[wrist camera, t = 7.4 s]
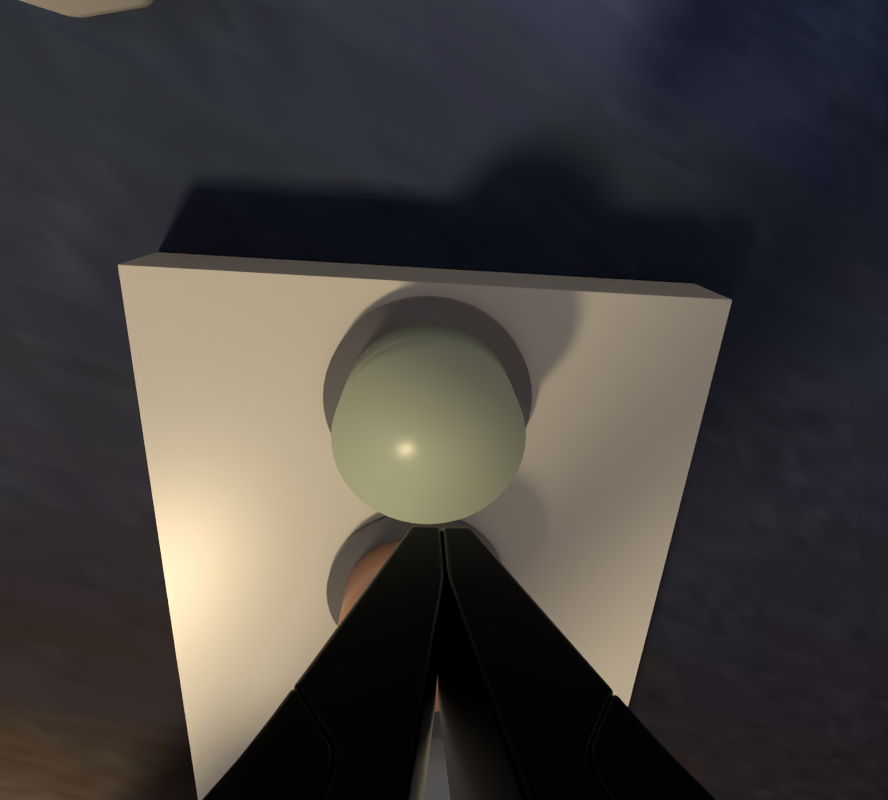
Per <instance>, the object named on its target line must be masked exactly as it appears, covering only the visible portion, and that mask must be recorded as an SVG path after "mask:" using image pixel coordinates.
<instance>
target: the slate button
mask: <svg viewBox="0 0 888 800" xmlns="http://www.w3.org/2000/svg"><path fill="white" fill-rule="evenodd" d="M424 800H450V792H449V784H448V776H447V767H446V759H445V751H444V743H443V741H442V740H439V739H436V738H432V737H431V744H430V752H429V761H428V769H427V777H426V785H425V793H424Z"/></svg>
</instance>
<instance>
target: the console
mask: <svg viewBox="0 0 888 800" xmlns="http://www.w3.org/2000/svg"><path fill="white" fill-rule="evenodd" d="M118 269H119V275H120V282H121V289H122V295H123V302H124V309H125V315H126V322H127V329H128V335H129V342H130V349H131V355H132V362H133V369H134V375H135V382H136V389H137V396H138V402H139V409H140V416H141V422H142V429H143V436H144V442H145V449H146V456H147V462H148V469H149V476H150V482H151V489H152V496H153V502H154V509H155V516H156V523H157V529H158V536H159V543H160V549H161V556H162V563H163V569H164V576H165V583H166V589H167V596H168V603H169V609H170V616H171V623H172V630H173V636H174V643H175V650H176V656H177V663H178V670H179V676H180V683H181V690H182V696H183V703H184V710H185V716H186V723H187V730H188V736H189V743H190V750H191V757H192V763H193V770H194V777H195V783H196V790H197V797H198V800H202V799H203V798H204V797H205V796H206V795H207V794H208V792H209V791H210V790H211V789H212V788H213V787H214V786H215V784H216V783H217V782H218V781H219V780H220V779H221V778H222V776H223V775H224V774H225V773H226V772H227V771H228V770H229V769H230V767H231V766H232V765H233V764H234V763H235V762H236V761H237V759H238V758H239V757H240V756H241V755H242V753H243V752H244V751H245V749H246V748H247V747H248V746H249V744H250V743H251V742H252V741H253V739H254V738H255V737H256V735H257V734H258V733H259V732H260V730H261V729H262V728H263V727H264V725H265V724H266V723H267V721H268V720H269V719H270V718H271V716H272V715H273V714H274V712H275V711H276V709H277V708H278V707H279V705H280V704H281V703H282V701H283V700H284V698H285V697H286V696H287V694H288V693H289V692H290V691H291V690H293V689H294V686H295V684H296V683H297V681H298V680H299V679H300V677H301V676H302V674H303V673H304V672H305V670H306V669H307V668H308V666H309V665H310V664H311V662H312V661H313V659H314V658H315V657H316V655H317V654H318V653H319V651H320V650H321V649H322V647H323V646H324V644H325V643H326V642H327V640H328V639H329V638H330V636H331V635H332V634H333V632H334V631H335V629H336V628H337V627H338V623H339V617H340V612H341V606H342V601H343V595H344V590H345V586H346V582H347V579H348V577H349V574H350V572H351V571H352V569H353V568H354V566H355V565H356V564H357V563H358V562H359V560H360V559H362V558H363V557H364V556H365V555H366V554H367V553H369V552H370V551H372V550H373V549H375V548H377V547H379V546H381V545H383V544H386V543H389V542H391V541H395V540H399V539H402V538H403V537H404V535H405V534H406V533H407V531H408V530H409V529H410V528H411V527H412V526H437V527H438V528H440V530H442V528H444V527H469V528H471V529H472V530H473V531H474V532H475V533H476V534H477V536H478V537H479V538H480V539H481V540H482V541H483V542H484V544H485V545H486V546H487V547H488V548H489V549H490V550H491V552H492V553H493V554H494V555H495V556H496V557H497V558H498V560H499V561H500V562H501V563H502V564H503V565H504V566H505V568H506V569H507V570H508V571H509V572H510V573H511V575H512V576H513V577H514V578H515V579H516V580H517V581H518V583H519V584H520V585H521V586H522V587H523V588H524V589H525V591H526V592H527V593H528V594H529V595H530V596H531V597H532V599H533V600H534V601H535V602H536V603H537V604H538V605H539V607H540V608H541V609H542V610H543V611H544V612H545V613H546V615H547V616H548V617H549V618H550V619H551V620H552V621H553V623H554V624H555V625H556V626H557V627H558V628H559V629H560V631H561V632H562V633H563V634H564V635H565V636H566V637H567V639H568V640H569V641H570V642H571V643H572V644H573V645H574V647H575V648H576V649H577V650H578V651H579V652H580V653H581V655H582V656H583V657H584V658H585V659H586V660H587V661H588V663H589V664H590V665H591V666H592V667H593V668H594V669H595V671H596V672H597V673H598V674H599V675H600V676H601V677H602V679H603V680H604V681H605V682H606V683H607V684H608V685H609V687H610V688H611V689H612V691H613V695H617V696H618V697H619V698H620V699H621V700H622V701H623V702H624V703H625V705H626V706H627V707H628V705H629V701H630V697H631V693H632V689H633V686H634V682H635V678H636V674H637V670H638V666H639V662H640V658H641V654H642V650H643V646H644V643H645V639H646V635H647V631H648V627H649V623H650V619H651V615H652V611H653V607H654V603H655V600H656V596H657V592H658V588H659V584H660V580H661V576H662V572H663V568H664V564H665V561H666V557H667V553H668V549H669V545H670V541H671V537H672V533H673V529H674V525H675V521H676V518H677V514H678V510H679V506H680V502H681V498H682V494H683V490H684V486H685V482H686V478H687V475H688V471H689V467H690V463H691V459H692V455H693V451H694V447H695V443H696V439H697V435H698V432H699V428H700V424H701V420H702V416H703V412H704V408H705V404H706V400H707V396H708V392H709V389H710V385H711V381H712V377H713V373H714V369H715V365H716V361H717V357H718V353H719V350H720V346H721V342H722V338H723V334H724V330H725V326H726V322H727V318H728V314H729V310H730V307H731V303H732V300H731V299H729V298H727V297H724V296H722V295H720V294H717V293H715V292H713V291H710V290H708V289H706V288H703V287H701V286H699V285H696V284H692V283H674V282H657V281H640V280H623V279H606V278H589V277H572V276H555V275H538V274H521V273H504V272H486V271H469V270H452V269H435V268H418V267H401V266H384V265H367V264H350V263H333V262H316V261H298V260H281V259H264V258H247V257H230V256H213V255H196V254H179V253H162V252H156V253H153V254H150V255H147V256H144V257H141V258H137V259H134V260H131V261H128V262H125V263H122V264H119V265H118ZM416 323H440V324H446V325H450V326H454V327H457V328H460V329H462V330H465V331H467V332H469V333H471V334H472V335H474V336H476V337H477V338H479V339H480V340H481V341H483V342H484V343H485V344H486V345H487V346H488V347H489V348H490V349H491V350H493V352H494V353H495V354H496V356H497V357H498V358H499V360H500V361H501V363H502V365H503V367H504V368H505V371H506V373H507V376H508V378H509V380H510V383H511V385H512V388H513V390H514V393H515V395H516V398H517V400H518V403H519V405H520V408H521V410H522V413H523V417H524V421H525V430H526V443H525V450H524V455H523V459H522V462H521V464H520V467H519V469H518V471H517V473H516V475H515V477H514V479H513V480H512V482H511V483H510V484H509V486H508V487H507V488H506V490H505V491H504V492H503V493H502V494H501V495H500V496H499V497H498V498H497V499H495V500H494V501H493V502H492V503H491V504H489V505H488V506H486V507H485V508H483V509H482V510H480V511H478V512H476V513H474V514H472V515H470V516H467V517H465V518H462V519H459V520H455V521H451V522H446V523H439V524H418V523H410V522H405V521H400V520H397V519H394V518H391V517H388V516H386V515H384V514H382V513H379V512H378V511H376V510H374V509H373V508H371V507H369V506H368V505H367V504H365V503H364V502H363V501H362V500H360V499H359V498H358V497H357V496H356V495H355V494H354V493H353V492H352V491H351V489H350V488H349V487H348V485H347V484H346V483H345V481H344V480H343V478H342V476H341V474H340V473H339V471H338V468H337V466H336V463H335V460H334V456H333V452H332V444H331V431H332V423H333V418H334V414H335V411H336V408H337V406H338V403H339V400H340V397H341V394H342V392H343V389H344V386H345V383H346V380H347V378H348V375H349V372H350V370H351V368H352V366H353V364H354V362H355V361H356V359H357V358H358V357H359V355H360V354H361V353H362V352H363V350H364V349H365V348H366V347H367V346H368V345H369V344H371V343H372V342H373V341H374V340H376V339H377V338H378V337H380V336H382V335H384V334H385V333H387V332H389V331H391V330H394V329H396V328H399V327H402V326H406V325H409V324H416ZM431 737H432V738H436V739H439V740H442V741H443V735H442V727H441V719H440V711H437V712H434V719H433V728H432V736H431Z"/></svg>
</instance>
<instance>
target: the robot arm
mask: <svg viewBox="0 0 888 800" xmlns="http://www.w3.org/2000/svg"><path fill="white" fill-rule="evenodd" d="M437 684H438V700H439V711H440V719H441V727H442V735H443V743H444V751H445V759H446V767H447V776H448V784H449V792H450V800H715V799H714V798H713V797H712V796H711V795H710V794H709V793H708V792H707V791H706V790H705V789H704V788H703V787H702V786H701V785H700V784H699V783H698V782H697V781H696V780H695V779H694V778H693V777H692V776H691V775H690V774H689V773H688V772H687V771H686V770H685V769H684V768H683V767H682V766H681V765H680V764H679V763H678V762H677V761H676V760H675V759H674V757H673V756H672V755H671V754H670V753H669V752H668V751H667V750H666V749H665V748H664V747H663V746H662V744H661V743H660V742H659V741H658V740H657V739H656V738H655V737H654V736H653V735H652V734H651V732H650V731H649V730H648V729H647V728H646V727H645V726H644V725H643V724H642V723H641V722H640V721H639V719H638V718H637V717H636V716H635V715H634V714H633V713H632V711H631V710H630V709H629V708H628V707H627V706H626V705H625V703H624V702H623V701H622V700H621V699H620V698H619V697H618V696H617V695H613V691H612V689H611V688H610V687H609V685H608V684H607V683H606V682H605V681H604V680H603V679H602V677H601V676H600V675H599V674H598V673H597V672H596V671H595V669H594V668H593V667H592V666H591V665H590V664H589V663H588V661H587V660H586V659H585V658H584V657H583V656H582V655H581V653H580V652H579V651H578V650H577V649H576V648H575V647H574V645H573V644H572V643H571V642H570V641H569V640H568V639H567V637H566V636H565V635H564V634H563V633H562V632H561V631H560V629H559V628H558V627H557V626H556V625H555V624H554V623H553V621H552V620H551V619H550V618H549V617H548V616H547V615H546V613H545V612H544V611H543V610H542V609H541V608H540V607H539V605H538V604H537V603H536V602H535V601H534V600H533V599H532V597H531V596H530V595H529V594H528V593H527V592H526V591H525V589H524V588H523V587H522V586H521V585H520V584H519V583H518V581H517V580H516V579H515V578H514V577H513V576H512V575H511V573H510V572H509V571H508V570H507V569H506V568H505V566H504V565H503V564H502V563H501V562H500V561H499V560H498V558H497V557H496V556H495V555H494V554H493V553H492V552H491V550H490V549H489V548H488V547H487V546H486V545H485V544H484V542H483V541H482V540H481V539H480V538H479V537H478V536H477V534H476V533H475V532H474V531H473V530H472V529H471V528H469V527H444V528H442V530H440V528H438V527H437V526H412V527H411V528H410V529H409V530H408V531H407V533H406V534H405V535H404V537H403V538H402V540H401V541H400V542H399V544H398V545H397V546H396V548H395V549H394V550H393V552H392V553H391V555H390V556H389V557H388V559H387V560H386V561H385V563H384V564H383V565H382V567H381V568H380V570H379V571H378V572H377V574H376V575H375V576H374V578H373V579H372V580H371V582H370V583H369V584H368V586H367V587H366V589H365V590H364V591H363V593H362V594H361V595H360V597H359V598H358V599H357V601H356V602H355V604H354V605H353V606H352V608H351V609H350V610H349V612H348V613H347V614H346V616H345V617H344V619H343V620H342V621H341V623H340V624H339V625H338V627H337V628H336V629H335V631H334V632H333V634H332V635H331V636H330V638H329V639H328V640H327V642H326V643H325V644H324V646H323V647H322V649H321V650H320V651H319V653H318V654H317V655H316V657H315V658H314V659H313V661H312V662H311V664H310V665H309V666H308V668H307V669H306V670H305V672H304V673H303V674H302V676H301V677H300V679H299V680H298V681H297V683H296V684H295V686H294V689H293V690H291V691H290V692H289V693H288V694H287V696H286V697H285V698H284V700H283V701H282V703H281V704H280V705H279V707H278V708H277V709H276V711H275V712H274V714H273V715H272V716H271V718H270V719H269V720H268V721H267V723H266V724H265V725H264V727H263V728H262V729H261V730H260V732H259V733H258V734H257V735H256V737H255V738H254V739H253V741H252V742H251V743H250V744H249V746H248V747H247V748H246V749H245V751H244V752H243V753H242V755H241V756H240V757H239V758H238V759H237V761H236V762H235V763H234V764H233V765H232V766H231V767H230V769H229V770H228V771H227V772H226V773H225V774H224V775H223V776H222V778H221V779H220V780H219V781H218V782H217V783H216V784H215V786H214V787H213V788H212V789H211V790H210V791H209V792H208V794H207V795H206V796H205V797H204V798H203V799H202V800H424V793H425V785H426V777H427V769H428V761H429V752H430V744H431V736H432V728H433V719H434V711H435V700H436V689H437Z"/></svg>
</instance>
